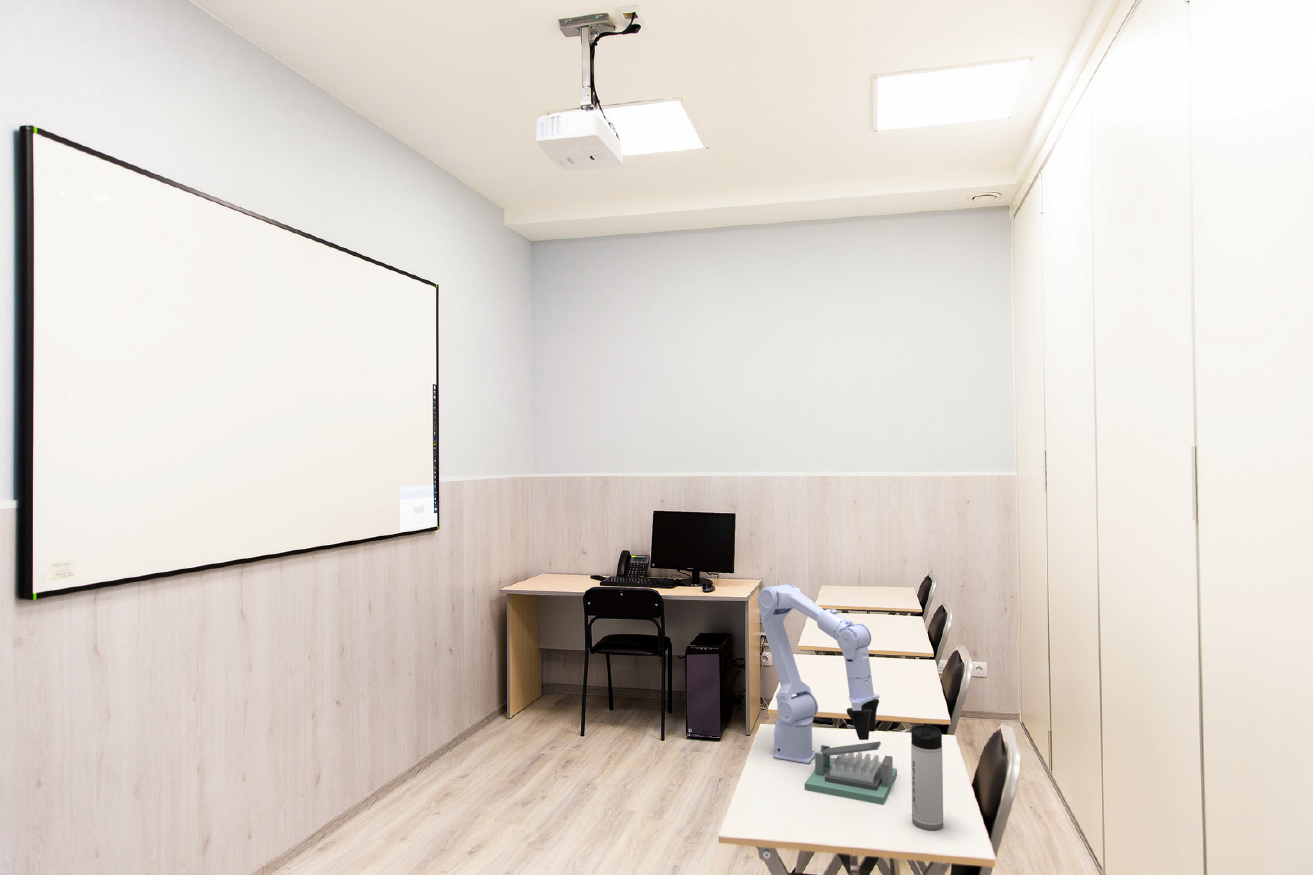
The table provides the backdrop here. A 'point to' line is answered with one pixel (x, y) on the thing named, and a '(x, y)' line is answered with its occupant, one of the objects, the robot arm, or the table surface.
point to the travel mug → (927, 777)
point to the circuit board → (849, 786)
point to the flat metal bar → (850, 748)
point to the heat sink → (856, 767)
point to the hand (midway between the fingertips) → (867, 735)
